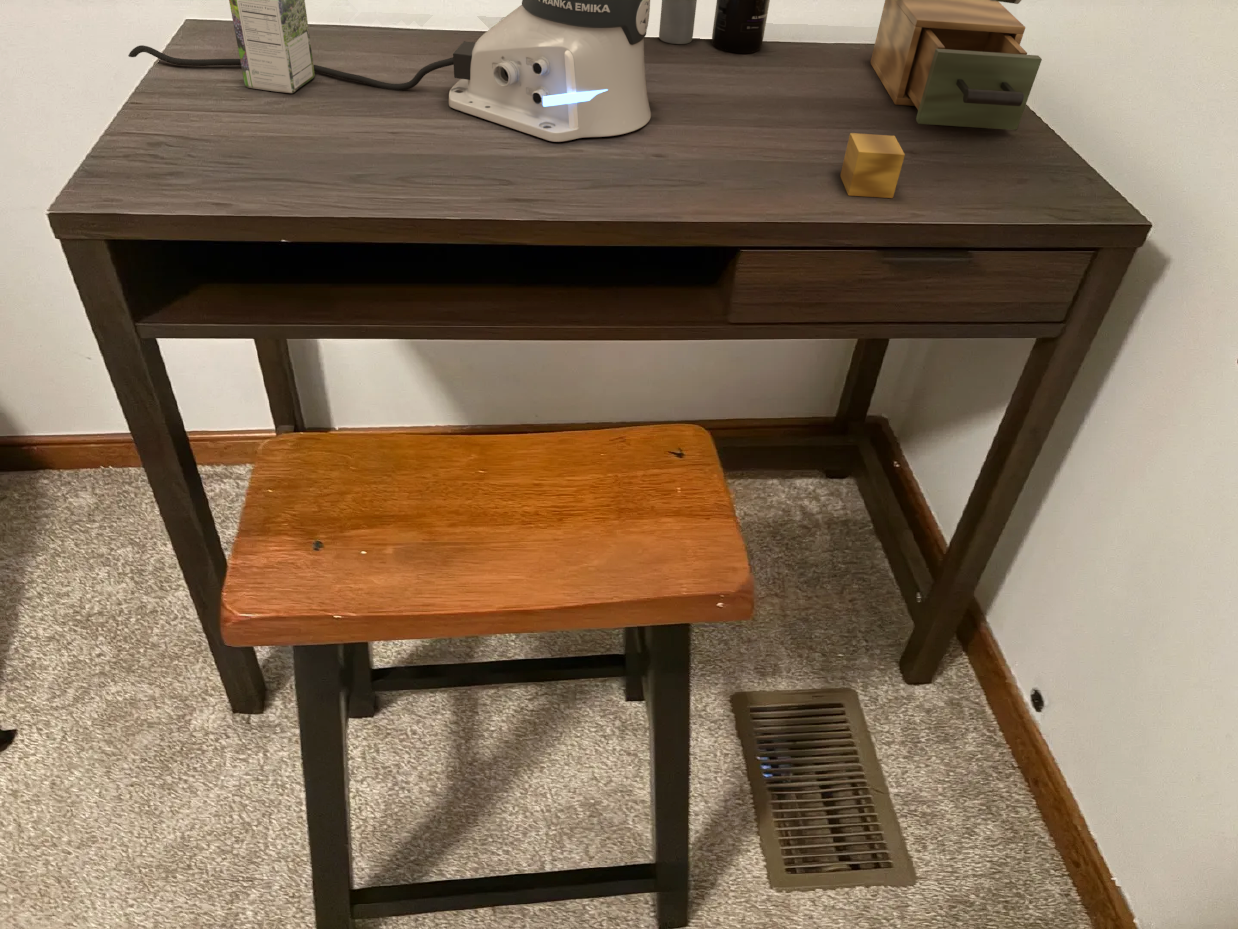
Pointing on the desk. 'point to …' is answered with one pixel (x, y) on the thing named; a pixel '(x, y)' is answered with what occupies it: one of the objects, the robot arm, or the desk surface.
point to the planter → (677, 21)
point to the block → (872, 165)
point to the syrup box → (273, 43)
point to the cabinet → (929, 5)
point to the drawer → (970, 79)
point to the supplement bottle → (740, 25)
